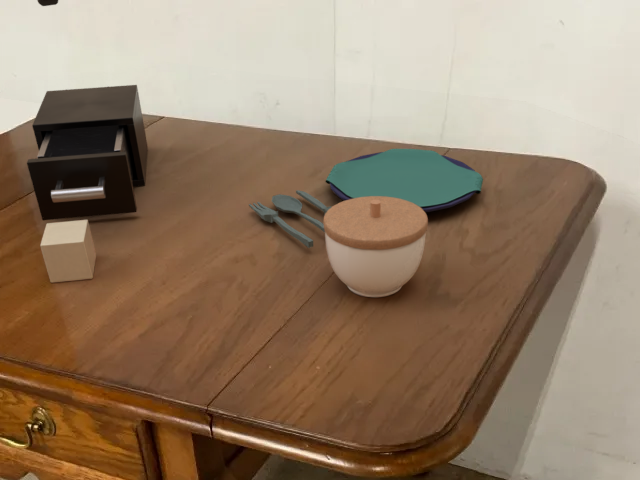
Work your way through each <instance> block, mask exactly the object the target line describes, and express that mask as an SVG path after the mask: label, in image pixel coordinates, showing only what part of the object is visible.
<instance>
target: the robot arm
mask: <svg viewBox="0 0 640 480" xmlns="http://www.w3.org/2000/svg"><path fill="white" fill-rule="evenodd" d="M36 1H37V3H38V4H39V5H40V6H41V7H48V6H49V7H50V6H56V5H57V4H58V3H59V0H36Z"/></svg>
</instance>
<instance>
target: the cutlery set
mask: <svg viewBox="0 0 640 480" xmlns="http://www.w3.org/2000/svg"><path fill="white" fill-rule="evenodd" d="M324 181H325V183H326V184H327V185H329V187H330V189H331V191H332V192H333V193H334V194H335V195H336V196H337V197H338V198H339V199H341V200H343V201H346V200H349V199H353V198H359V197H368V196H384V197H393V198H399V199H403V200H406V201H409V202H412V203H414V204H416V205H417V206H419V207H420V208H422V209H423V211H424V212H425V213H430V212H434V211H439V210H440V211H441V210H445V209H449V208H452V207H454V206H456V205H458V204H461V203H463V202H466V201H468V200H469V199H470V198H471V197H473V195H475V194H476V195H478V194H481V193H482V188H483V187H482V186H483V181H484V178H483V176H482V174H481V173H479V172H478V171H475V169H474V168H472V167H471V166H469V165H467V164H466V163H465V162H463V161H461V160H458V159H455V158H452V157H449V156H447V155H444V154H443V155H442V154H439V153H438V152H436V151H435V150H432V149H431V150H430V149H419V148H390V149H387V150H384V151H380V152H374V153H368V154H364V155H363V154H362V155H359V156H357V157H355V158H352V159H348V160H346V161H342V162H338V163H336V164H335V165H333V166H332V168H331V170H330V172H329V173H328V175H327V177H326V179H325V180H324ZM295 194H296V195H298V196H299V197H301V198H303V199H304V200H306V201H307V202H309V203H310V204H312V205H313V206H314V207H316V208H318V209H319V210H320V211H322V212H323V217H324V216H325V214H326V212H327V211H328V210H329V209H330V208H331V207H332V206H326V205H325V204H324V203H323V202H321V201H320V200H319V199H317V198H316V197H314V196H313V195H311V194H310V193H308V192H306V191H303V190H300V189H297V190H295ZM271 203H272V204H273V205H274V206H275V208H276V209H278V210H274V209H272V208H270V207H268V206H266V205H264V204H262V203H261V202H260V201H257V202H256V203H255V202H253V203H252V204H251V203H248V207H249V208H250V209H251V210H253V211H254V212H255V213H256V214H257V215H258V216H259V217H260V219H262V221H264V222H268V223H271V224H273V223H276V224H277V225H278V226H279V227H280V229H282V230H283V231H284V232H285V233H287V234H289V236H291V237H293V238H294V239H296V240H297V241H299V242H300V243H302V245H304V246H305V247H306V248H308V249H310V248H313V247H314V240H313V239H312V238H310V237H309V236H307V234H304V233H302V232H300V231H299V230H297V229H295V228H293V227H292V226H290V225H289V224H288V223H287V222H286V221H284V219H283V218H281V217H279V211H281V212H283V213H284V214H285V213H286V214H294V215H295V214H296V215H297V216H299V217H301V218H303V219H304V220H306V221H307V222H308V223H310V224H312V225H314V226H315V227H317V228H318V229H319V230H320V231H322V232H323V233H325V230H324V222H321V221H320V220H318V219H316V218H314V217H312V216H310V215H309V214H306V213H304V212H302V207H303V203H302V202H301V201H300V200H299V199H298V198H296V197H294V196H291V195H287V194H281V193H279V194H275V195H272V196H271Z"/></svg>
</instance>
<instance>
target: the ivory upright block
mask: <svg viewBox="0 0 640 480" xmlns="http://www.w3.org/2000/svg"><path fill="white" fill-rule="evenodd" d="M39 247H40V250H41V254H42V258H43V261H44V265H45V268H46V271H47V275H48V279H49V282H50V283H53V284H54V283H62V282H64V283H65V282H73V281H74V282H75V281H82V280H92V279H93V278H94V272H95V267H96V266H95V265H96V260H97V252H96V248H95V244H94V240H93V235H92V231H91V226H90V223H89V220H88V219H81V220H80V219H79V220H69V221H68V220H67V221H57V222H47V223H46V224H45V227H44V231H43V234H42V238H41V241H40V245H39Z"/></svg>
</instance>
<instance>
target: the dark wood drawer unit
mask: <svg viewBox="0 0 640 480" xmlns="http://www.w3.org/2000/svg"><path fill="white" fill-rule="evenodd" d="M119 125H126V130H127V135H128V141H129V146H130V151H131V157H132V162H133V167H134V174H133V183H132V185H133V188H134V187H135V188H136V187H146V180H147V179H146V178H147V164H148V152H149V147H148V141H147V136H146V128H145V124H144V117H143V112H142V106H141V100H140V96H139V89H138V85H137V84H129V85H128V84H127V85H114V86H100V87H99V86H98V87H86V88H85V87H84V88H70V89H58V90H47V91H46V92H45V94H44V97H43V99H42V101H41V103H40V106H39V108H38V110H37V113H36V115H35V117H34V120H33V122H32V126H31V127H32V130H33V134H34V138H35V142H36V145H37V150H38V151H39V150H40V148H41V145H42V142H43V140H44V137H45V134H46V132H47V131H53V130H66V129H79V128H92V127H105V126H119Z"/></svg>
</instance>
